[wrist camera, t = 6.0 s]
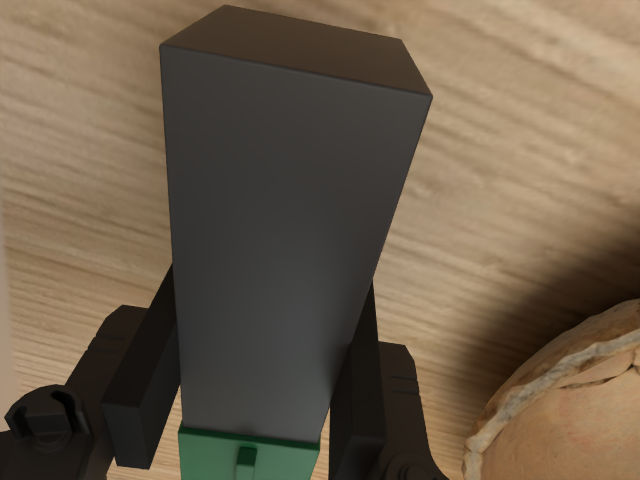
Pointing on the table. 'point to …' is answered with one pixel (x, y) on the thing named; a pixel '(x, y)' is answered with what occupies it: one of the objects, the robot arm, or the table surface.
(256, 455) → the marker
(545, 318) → the table surface
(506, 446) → the ceramic bowl
